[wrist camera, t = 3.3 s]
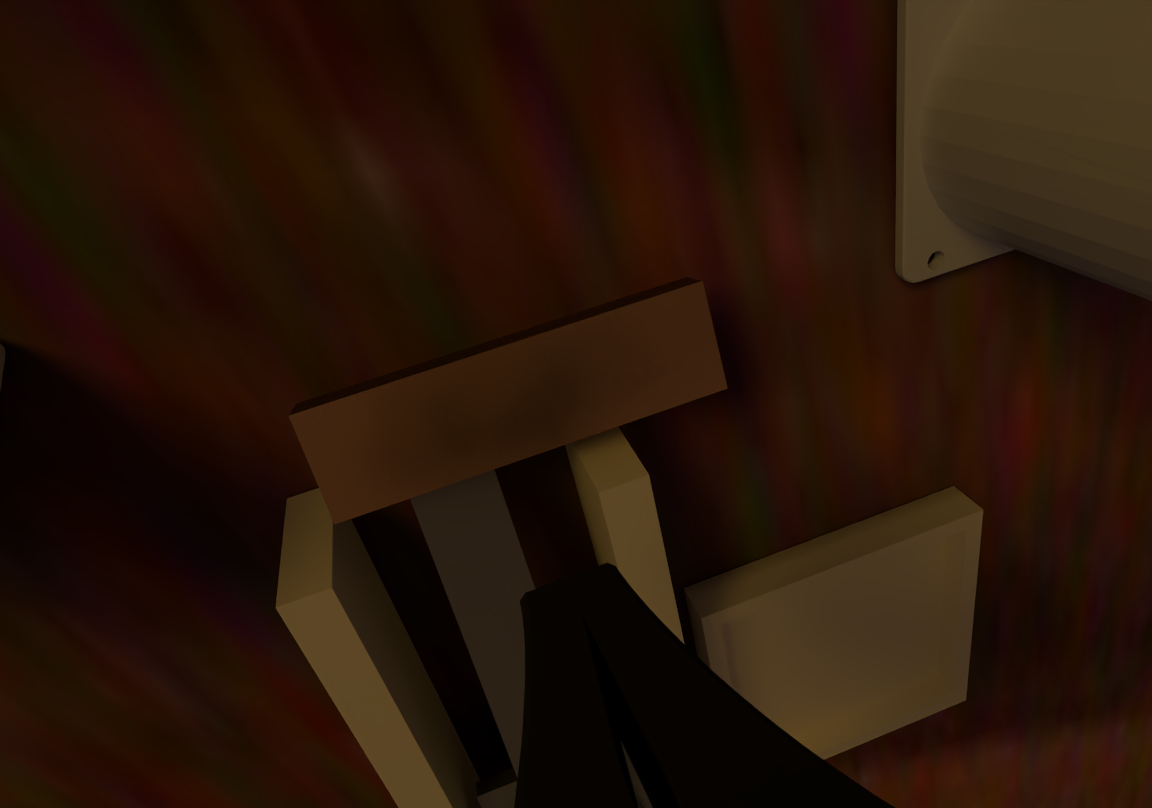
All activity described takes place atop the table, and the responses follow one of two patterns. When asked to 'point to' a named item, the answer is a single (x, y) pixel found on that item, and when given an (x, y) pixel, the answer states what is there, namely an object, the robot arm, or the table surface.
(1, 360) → the medicine box
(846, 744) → the tray
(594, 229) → the table surface
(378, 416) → the lever
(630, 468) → the beige h-shaped piece
